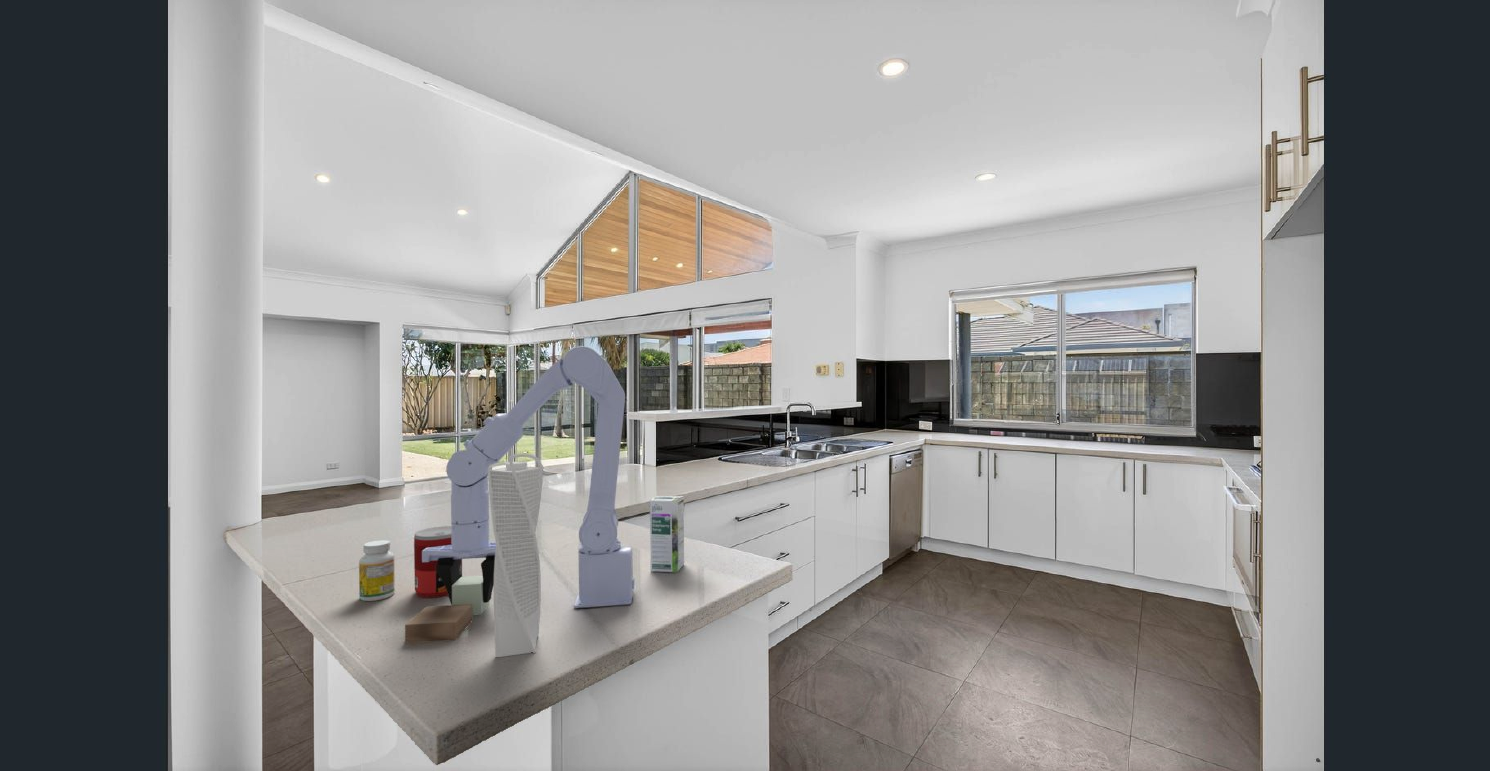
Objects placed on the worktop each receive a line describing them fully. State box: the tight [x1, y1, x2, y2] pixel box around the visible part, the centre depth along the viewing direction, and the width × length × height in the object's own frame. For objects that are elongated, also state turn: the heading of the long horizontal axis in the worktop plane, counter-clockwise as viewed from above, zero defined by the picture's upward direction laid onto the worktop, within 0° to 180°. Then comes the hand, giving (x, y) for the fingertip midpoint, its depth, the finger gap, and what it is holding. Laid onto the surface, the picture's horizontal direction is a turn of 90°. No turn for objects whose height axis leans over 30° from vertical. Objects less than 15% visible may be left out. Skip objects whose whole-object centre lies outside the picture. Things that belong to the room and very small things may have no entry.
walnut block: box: [404, 604, 474, 644], centre depth 86 cm, size 7×7×3 cm
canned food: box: [413, 525, 463, 599], centre depth 104 cm, size 8×8×11 cm
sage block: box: [452, 574, 490, 616], centre depth 95 cm, size 4×4×5 cm
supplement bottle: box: [358, 539, 396, 602], centre depth 102 cm, size 5×5×10 cm
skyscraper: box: [487, 452, 544, 658], centre depth 81 cm, size 8×8×28 cm
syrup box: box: [649, 495, 685, 573], centre depth 116 cm, size 6×6×14 cm
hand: (471, 601), depth 95 cm, fingers closed on sage block, 4 cm apart
